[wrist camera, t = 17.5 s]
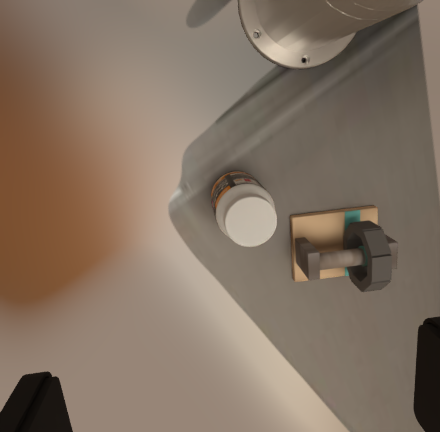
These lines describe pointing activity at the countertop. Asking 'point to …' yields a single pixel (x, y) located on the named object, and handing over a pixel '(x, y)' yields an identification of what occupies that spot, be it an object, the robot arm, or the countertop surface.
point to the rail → (329, 243)
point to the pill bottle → (243, 209)
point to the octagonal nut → (369, 255)
